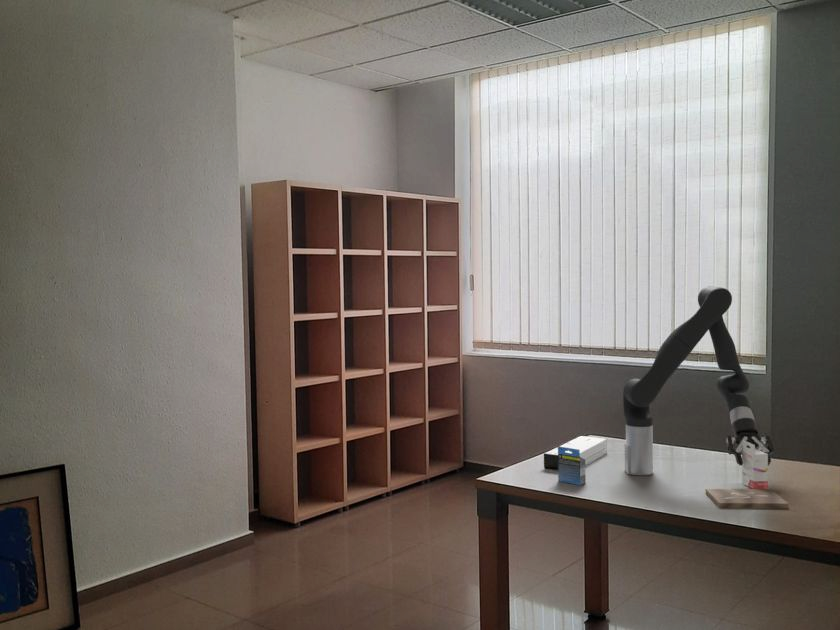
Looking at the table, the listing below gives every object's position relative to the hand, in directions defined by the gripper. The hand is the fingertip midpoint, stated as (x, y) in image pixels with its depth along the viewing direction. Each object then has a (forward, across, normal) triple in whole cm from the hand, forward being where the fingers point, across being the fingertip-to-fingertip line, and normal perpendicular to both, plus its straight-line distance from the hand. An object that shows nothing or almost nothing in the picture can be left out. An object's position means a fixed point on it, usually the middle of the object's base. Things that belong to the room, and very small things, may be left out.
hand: (754, 464), depth 253 cm
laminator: (-18, -54, +29) cm, 64 cm away
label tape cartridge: (+3, -59, +8) cm, 60 cm away
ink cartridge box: (+6, 0, +5) cm, 8 cm away
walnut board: (+17, -8, -6) cm, 20 cm away
